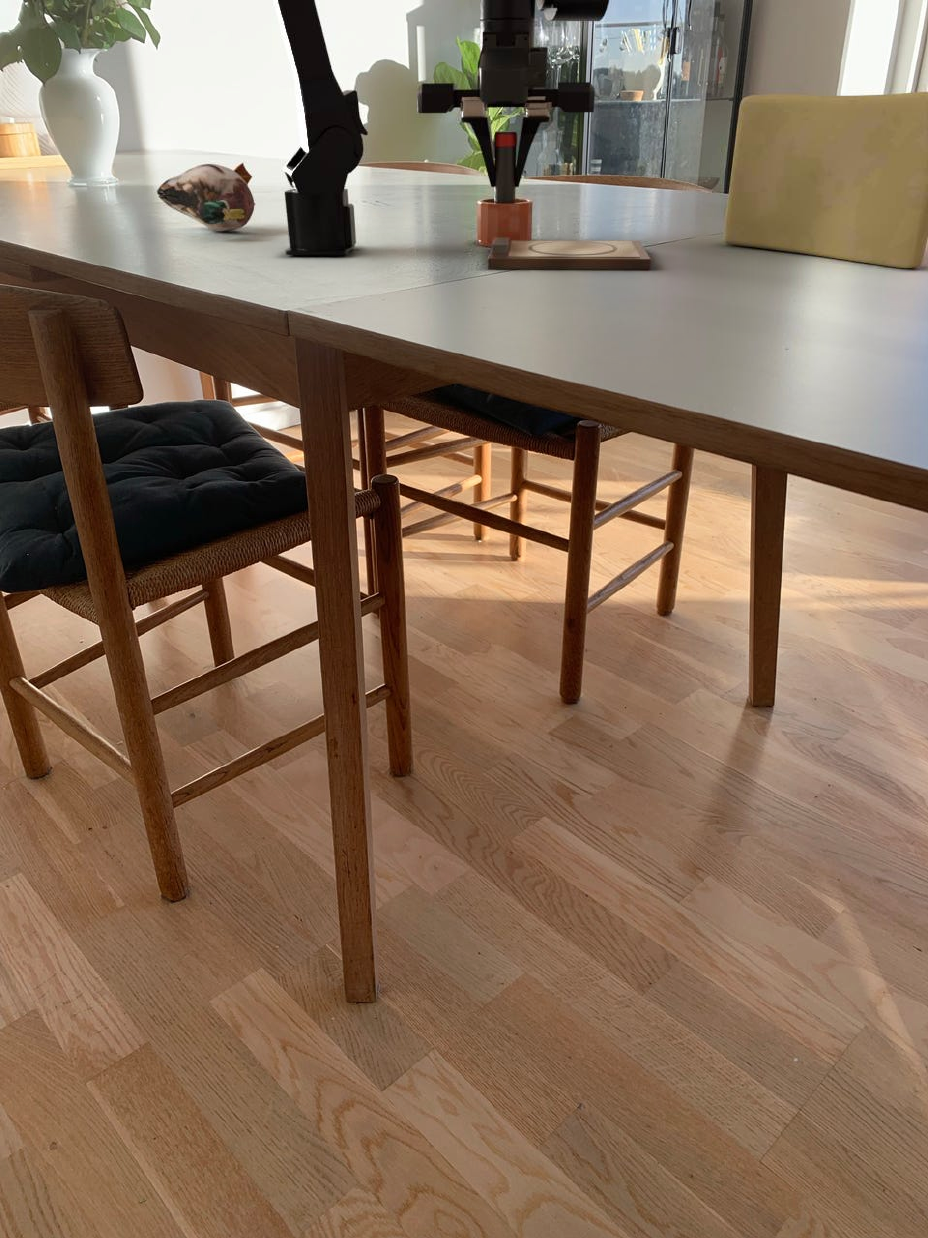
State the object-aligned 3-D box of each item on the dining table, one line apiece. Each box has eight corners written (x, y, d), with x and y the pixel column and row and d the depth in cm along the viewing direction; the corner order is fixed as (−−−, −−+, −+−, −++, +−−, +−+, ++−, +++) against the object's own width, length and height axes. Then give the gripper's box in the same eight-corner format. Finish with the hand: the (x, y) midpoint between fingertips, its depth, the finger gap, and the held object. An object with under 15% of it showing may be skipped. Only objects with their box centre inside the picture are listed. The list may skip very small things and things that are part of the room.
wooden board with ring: (487, 268, 91) (488, 249, 90) (493, 249, 101) (493, 232, 100) (650, 269, 90) (651, 250, 89) (639, 250, 100) (640, 232, 99)
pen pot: (476, 247, 103) (476, 203, 101) (479, 239, 108) (479, 197, 106) (531, 247, 103) (532, 203, 100) (531, 239, 108) (532, 197, 106)
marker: (493, 221, 103) (493, 131, 99) (494, 218, 105) (494, 130, 101) (515, 221, 103) (516, 131, 99) (515, 219, 105) (517, 130, 101)
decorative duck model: (232, 183, 104) (109, 176, 106) (240, 252, 108) (122, 245, 110) (275, 159, 116) (164, 154, 118) (281, 222, 120) (174, 216, 122)
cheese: (948, 264, 91) (991, 90, 83) (884, 274, 87) (923, 92, 79) (778, 237, 107) (801, 90, 100) (717, 244, 103) (737, 91, 96)
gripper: (408, 17, 88) (413, 194, 96) (602, 14, 87) (591, 194, 95) (421, 23, 98) (425, 184, 106) (596, 21, 97) (587, 184, 105)
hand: (504, 186), depth 102 cm, fingers closed on marker, 2 cm apart
